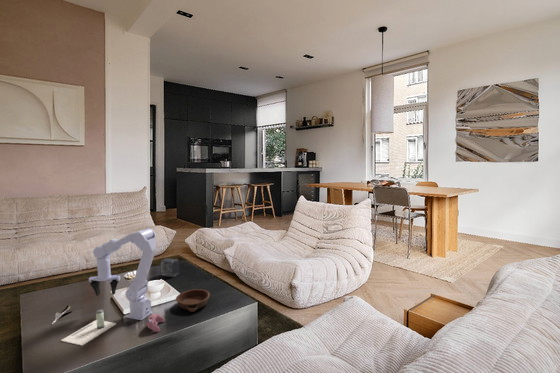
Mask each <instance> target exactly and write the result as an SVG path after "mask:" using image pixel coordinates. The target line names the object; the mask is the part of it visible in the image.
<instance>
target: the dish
mask: <svg viewBox="0 0 560 373" xmlns="http://www.w3.org/2000/svg"><path fill="white" fill-rule="evenodd" d="M210 295H211V294H210V292H209V291H207V290H206V289H201V288H200V289H198V288H193V289H189V290H186V291H183V292H180V293H179V294H178V295H177V296H176V298H175V301H176V302H177V303H178V306H179V307H180V308H181V309H183V310H186V311H188V312H190V313H193V312H196V311H197V310H198V309H201V308H203V307H205V305H207V303H208V301H209V298H210Z"/></svg>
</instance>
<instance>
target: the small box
mask: <svg viewBox="0 0 560 373" xmlns="http://www.w3.org/2000/svg"><path fill="white" fill-rule="evenodd" d="M179 261H180V260H179V259H174V258H168V257H167V258H164V259H161V260H160V261H159V262H160V275H161V277H165V278H166V277H167V278H172V279H173V278H175V277H179V276H180V262H179Z"/></svg>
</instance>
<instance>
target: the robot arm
mask: <svg viewBox="0 0 560 373" xmlns="http://www.w3.org/2000/svg"><path fill="white" fill-rule="evenodd" d="M156 237H157V235H156V232H155V231H154V230H153V229H152V228H149V227H148V228H144V229H141V230H137V231H134V232H132V233H129V234H127V235H125V236H123V237H122V238H119V239H118V238H111V239H109V241H107V242H103V243H102V245H99V246H96V247H95V248H94V249H93V252H92V253H93V256H94V257H95V258H96V268H97V270H96V271H97V276H90V277H89V278H88V282H89V283H90V284H89V285H90V287H92V289H93V290H94V293H95V295H96V296H100V294H101V293H100V292H101V289H100V282H107V281H110V282H109V284H110V287H111V295H112V296H114V295H116V290H117V286H118V284H119V281H120V280H121V275H114V274H112V272H111V259H110V258H111V255H112V254H113V253H115V252H117V251H119V250H120V249H122V247H123V245H126V244H128V243H130V242H131V244H133V245H135V246H136V247H137V248H138V249H139V250H140V251H142V253H141V258H140V260H139V264H138V267H137V268H136V269H137V271H136V272H135V276H134V279H133V281H132V282H131V283H130V285H129V286H128V288H127V289H126V291H125V298H126V299H127V300H128V301H129V312H130V313H129V314H128V315H126V318H128V319H133V320H139V321H143V320H144V319H145V318H147V317H149V316H150V315H152V314H154V312H153V311H152V302H151V300H150V299H149V298H147V297H146V294H147V292H148V289H149V286H148V285H149V281H148V280H147V278H148V275H149V273H150V270H151V266H152V263H153V259H154V257H155V254H156V251H157V249H156V248H157V247H156V246H157V245H156Z"/></svg>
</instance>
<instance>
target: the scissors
mask: <svg viewBox="0 0 560 373" xmlns="http://www.w3.org/2000/svg"><path fill="white" fill-rule="evenodd" d="M69 310H71V306H69V305H66V307H65V308H64V310H63V311H62V312H61V313H60V312H58V311H57V312H56V313H54V314H55V316H54V318H55V319H54V320H52V323H51V325H53V324H55V323H56V322H57V321H58V320H60V319H61V318H62V319H63V317H65V316H67V315H68V314H72V312H73V310H72V311H69ZM67 311H68V312H67Z"/></svg>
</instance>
